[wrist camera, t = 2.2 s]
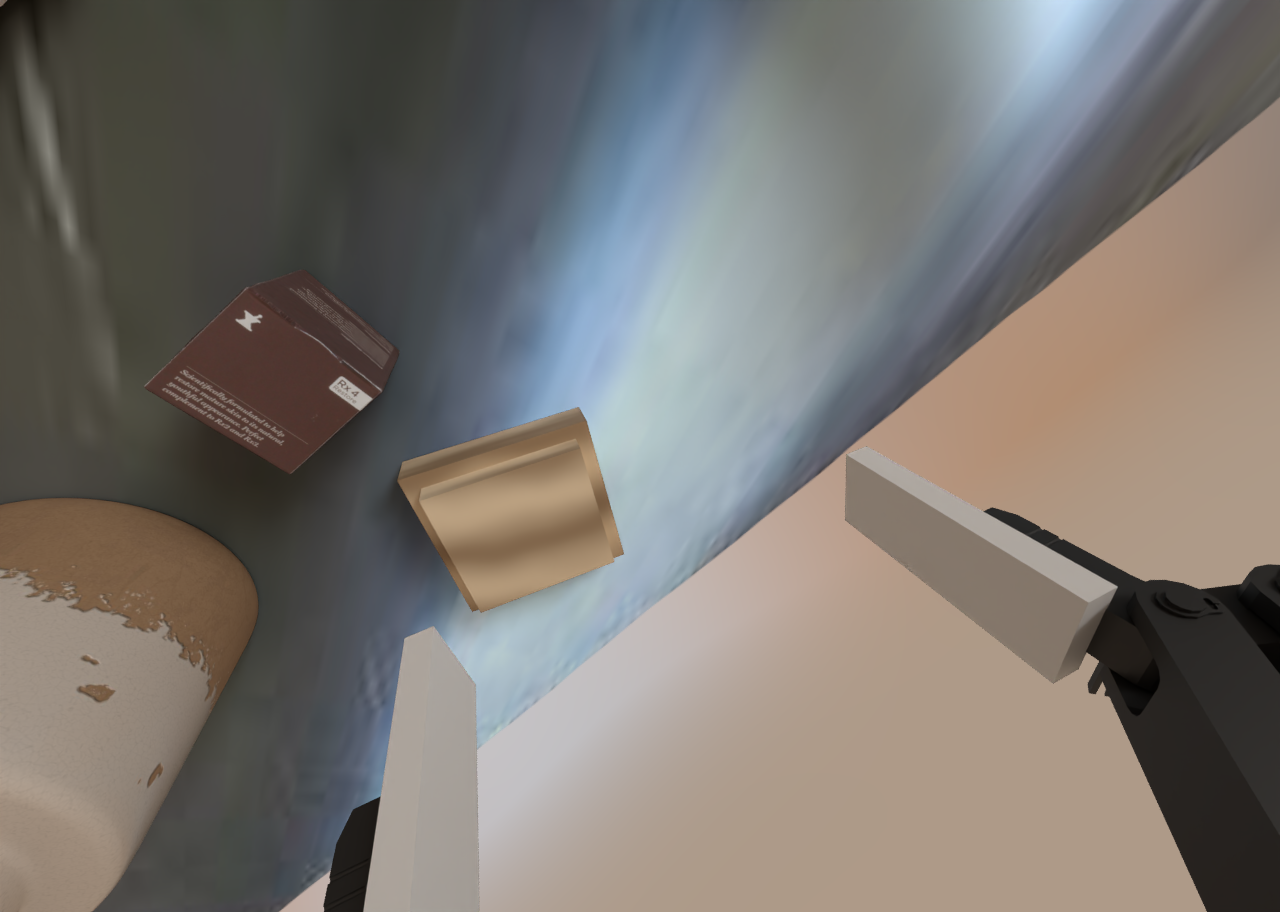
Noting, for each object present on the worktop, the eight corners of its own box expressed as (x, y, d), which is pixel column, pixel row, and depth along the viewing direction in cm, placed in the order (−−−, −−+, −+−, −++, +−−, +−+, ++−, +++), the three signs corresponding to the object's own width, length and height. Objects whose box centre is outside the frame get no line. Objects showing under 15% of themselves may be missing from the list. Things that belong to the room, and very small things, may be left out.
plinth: (402, 461, 29) (393, 493, 26) (578, 407, 31) (591, 429, 28) (472, 588, 35) (472, 627, 32) (615, 535, 38) (629, 566, 34)
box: (222, 342, 24) (133, 385, 17) (304, 264, 23) (244, 281, 17) (331, 419, 27) (289, 478, 21) (404, 352, 27) (384, 393, 20)
